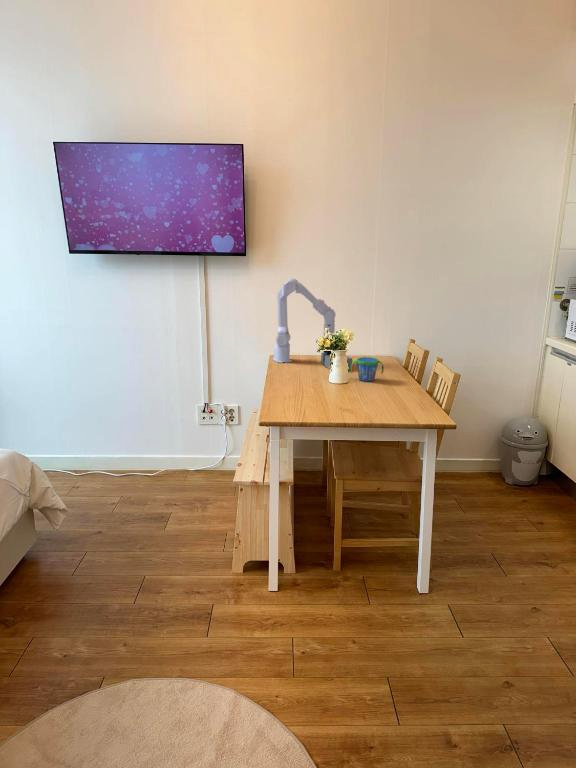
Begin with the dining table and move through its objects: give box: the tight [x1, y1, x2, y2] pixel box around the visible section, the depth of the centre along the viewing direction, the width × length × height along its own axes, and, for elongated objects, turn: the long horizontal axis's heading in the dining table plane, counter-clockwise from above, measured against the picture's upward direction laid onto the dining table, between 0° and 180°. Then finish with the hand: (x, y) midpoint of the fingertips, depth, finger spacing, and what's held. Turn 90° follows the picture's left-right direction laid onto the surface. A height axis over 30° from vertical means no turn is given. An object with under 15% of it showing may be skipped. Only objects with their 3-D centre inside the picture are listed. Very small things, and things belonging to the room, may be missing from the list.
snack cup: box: [350, 356, 384, 382], centre depth 270 cm, size 16×10×10 cm
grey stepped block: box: [320, 351, 353, 371], centre depth 295 cm, size 17×10×6 cm, turn 27°
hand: (327, 357), depth 301 cm, fingers closed on grey stepped block, 2 cm apart
